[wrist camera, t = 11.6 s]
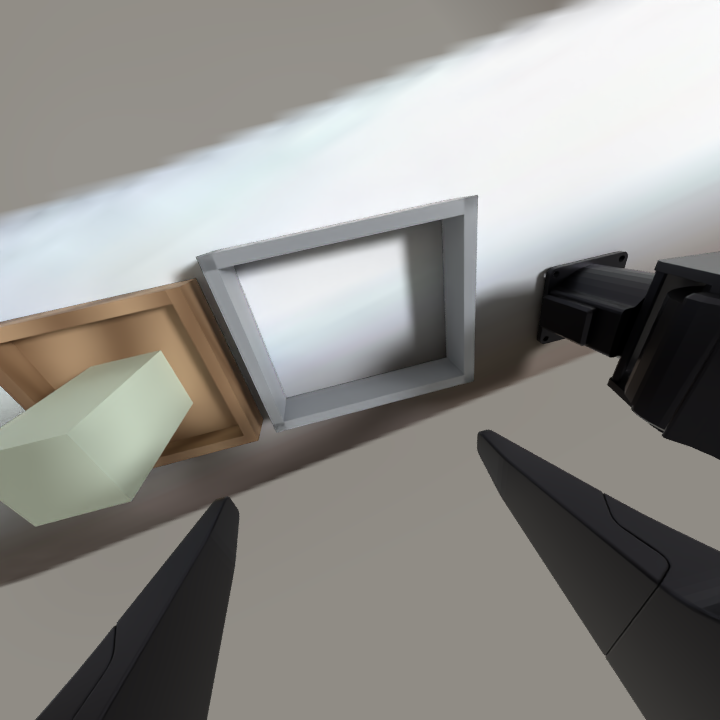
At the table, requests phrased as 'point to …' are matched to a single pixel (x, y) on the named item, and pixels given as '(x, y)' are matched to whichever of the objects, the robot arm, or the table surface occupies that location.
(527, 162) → the table surface
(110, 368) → the sage block
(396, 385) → the grey bin
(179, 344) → the wooden tray
